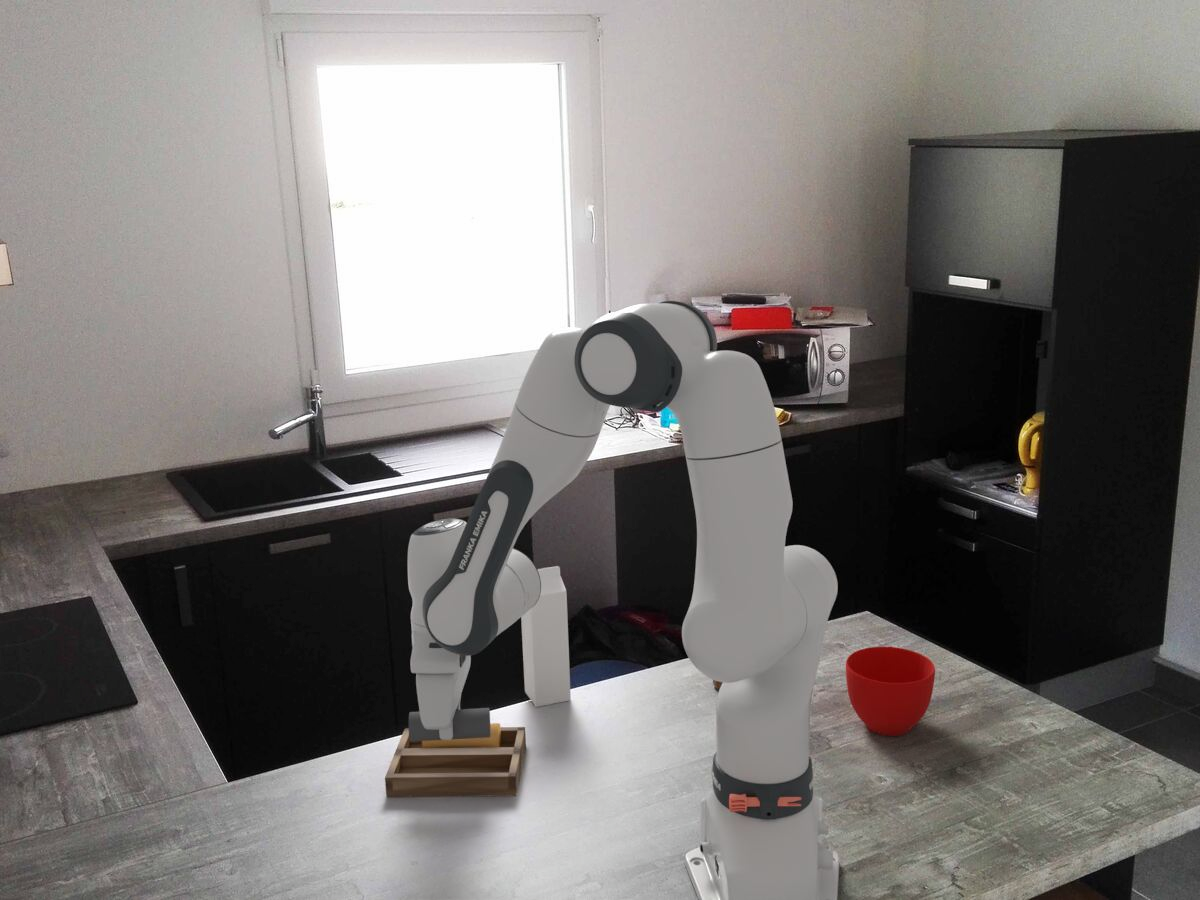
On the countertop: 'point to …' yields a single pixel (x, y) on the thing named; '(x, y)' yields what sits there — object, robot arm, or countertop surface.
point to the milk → (547, 642)
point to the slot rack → (457, 768)
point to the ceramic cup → (889, 687)
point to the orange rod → (469, 741)
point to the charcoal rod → (465, 725)
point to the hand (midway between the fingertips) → (450, 727)
